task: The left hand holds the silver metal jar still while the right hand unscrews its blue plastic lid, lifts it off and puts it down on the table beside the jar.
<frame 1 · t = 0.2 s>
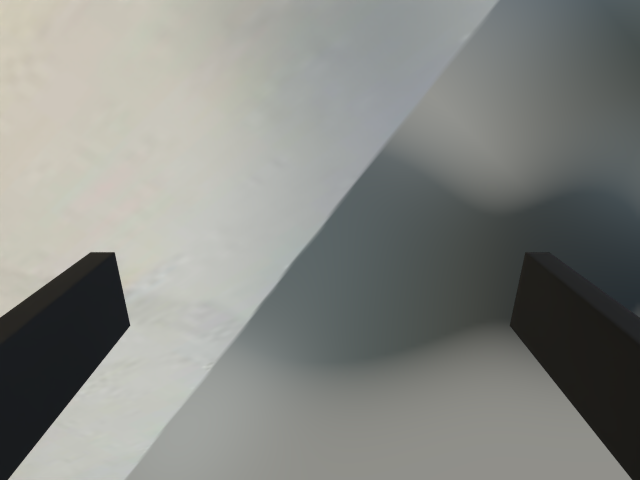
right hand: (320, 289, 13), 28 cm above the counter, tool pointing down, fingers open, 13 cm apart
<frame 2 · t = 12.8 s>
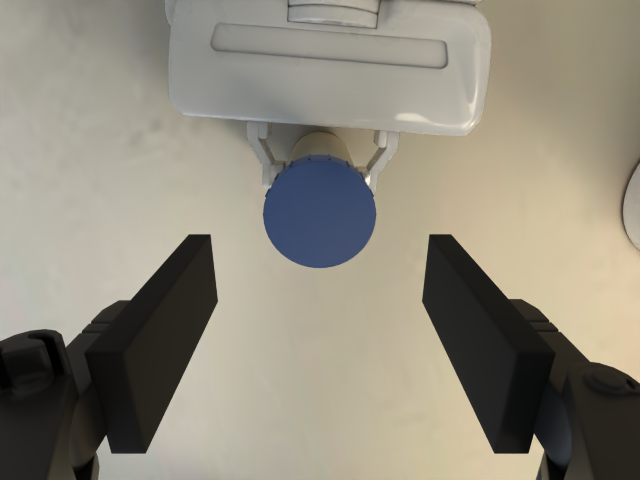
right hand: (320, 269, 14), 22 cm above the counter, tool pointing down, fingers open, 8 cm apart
left hand: (319, 190, 28), fingers closed on jar, 5 cm apart
lid: (319, 215, 20), point 15 cm above the counter, screwed on, not yet turned
jar: (319, 161, 34), on the counter, touching left hand
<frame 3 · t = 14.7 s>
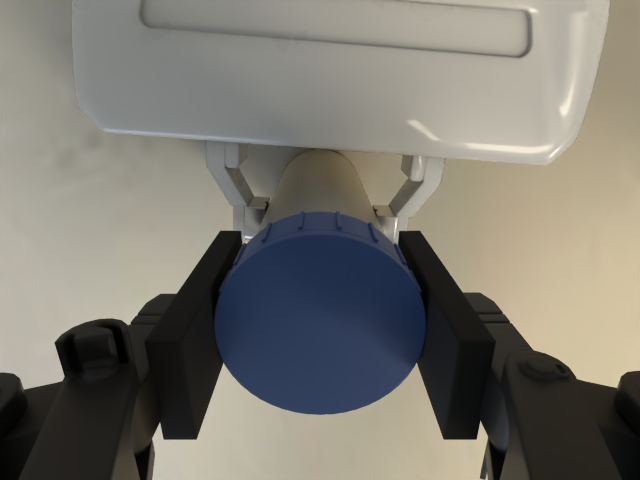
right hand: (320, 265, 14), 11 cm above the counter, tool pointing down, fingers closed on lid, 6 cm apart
lid: (320, 326, 11), point 15 cm above the counter, screwed on, not yet turned, touching right hand
jar: (320, 190, 25), on the counter, touching left hand
when the right hand's fingers open (0 cm above the counter, at t = 22.9 s): lid drops 3 cm, point 2 cm above the counter.
when the left hand's fingers open (7 cm above the counter, at t = 24.7 s): jar stays where it is, on the counter.
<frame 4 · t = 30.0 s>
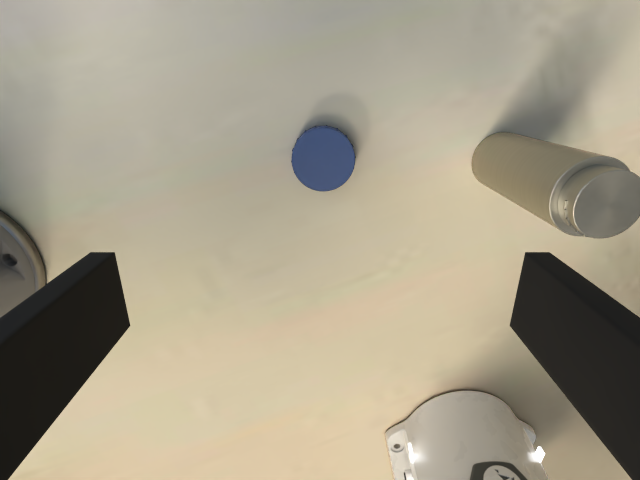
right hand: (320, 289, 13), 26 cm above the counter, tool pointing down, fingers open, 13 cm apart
lid: (323, 159, 35), point 2 cm above the counter, off its thread
jar: (499, 160, 37), on the counter
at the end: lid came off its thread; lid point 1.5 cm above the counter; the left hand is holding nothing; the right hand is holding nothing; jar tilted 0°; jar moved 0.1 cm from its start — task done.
